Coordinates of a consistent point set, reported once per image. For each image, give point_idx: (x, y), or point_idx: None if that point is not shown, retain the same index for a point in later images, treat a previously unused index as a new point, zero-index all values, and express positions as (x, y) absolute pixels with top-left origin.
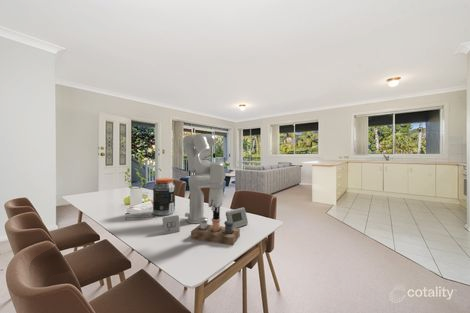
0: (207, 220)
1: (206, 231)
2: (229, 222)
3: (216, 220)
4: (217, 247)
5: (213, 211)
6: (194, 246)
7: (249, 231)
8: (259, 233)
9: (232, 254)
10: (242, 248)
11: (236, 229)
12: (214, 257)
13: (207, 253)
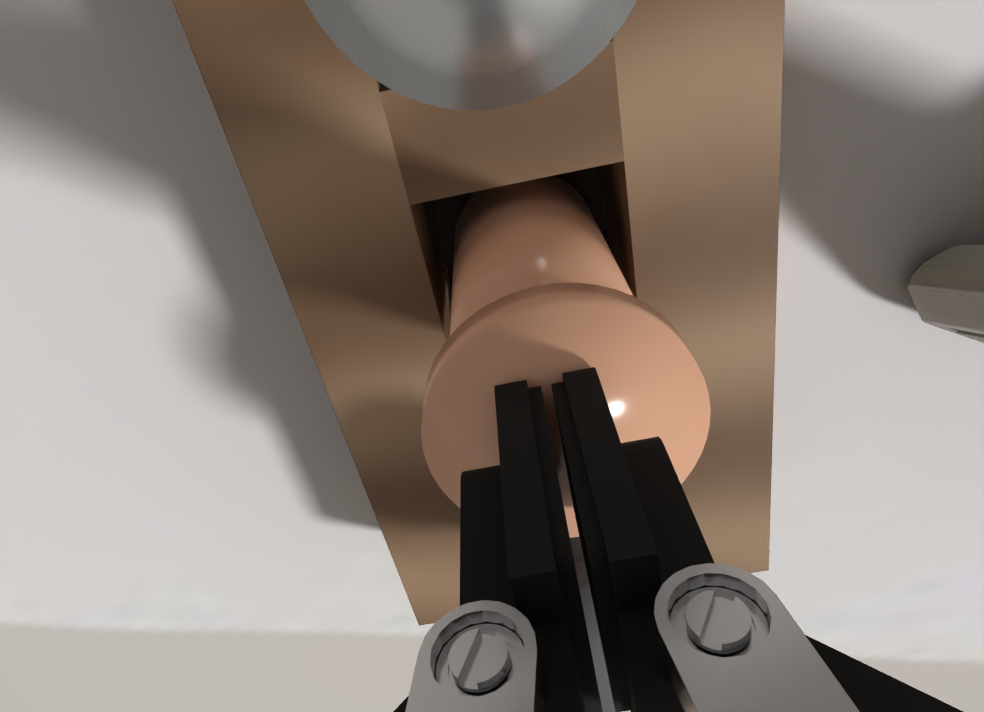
0: (495, 101)
1: (346, 149)
2: (601, 665)
3: (456, 502)
4: (260, 425)
5: (429, 676)
6: (6, 120)
7: (929, 520)
8: (891, 620)
9: (254, 608)
10: (428, 625)
11: (726, 544)
12: (59, 514)
13: (48, 411)
